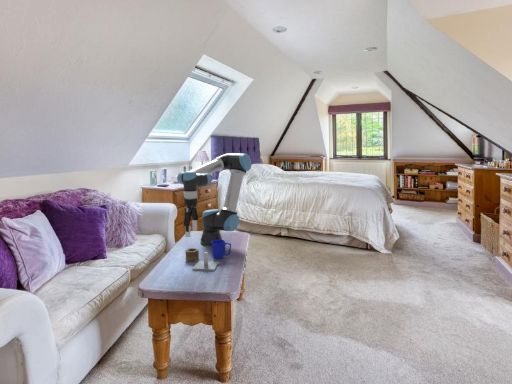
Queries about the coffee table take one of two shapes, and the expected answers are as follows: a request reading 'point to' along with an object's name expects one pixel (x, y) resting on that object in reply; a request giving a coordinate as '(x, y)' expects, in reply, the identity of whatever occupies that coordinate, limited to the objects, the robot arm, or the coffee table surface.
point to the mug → (219, 248)
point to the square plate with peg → (205, 264)
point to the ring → (192, 254)
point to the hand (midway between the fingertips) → (191, 233)
